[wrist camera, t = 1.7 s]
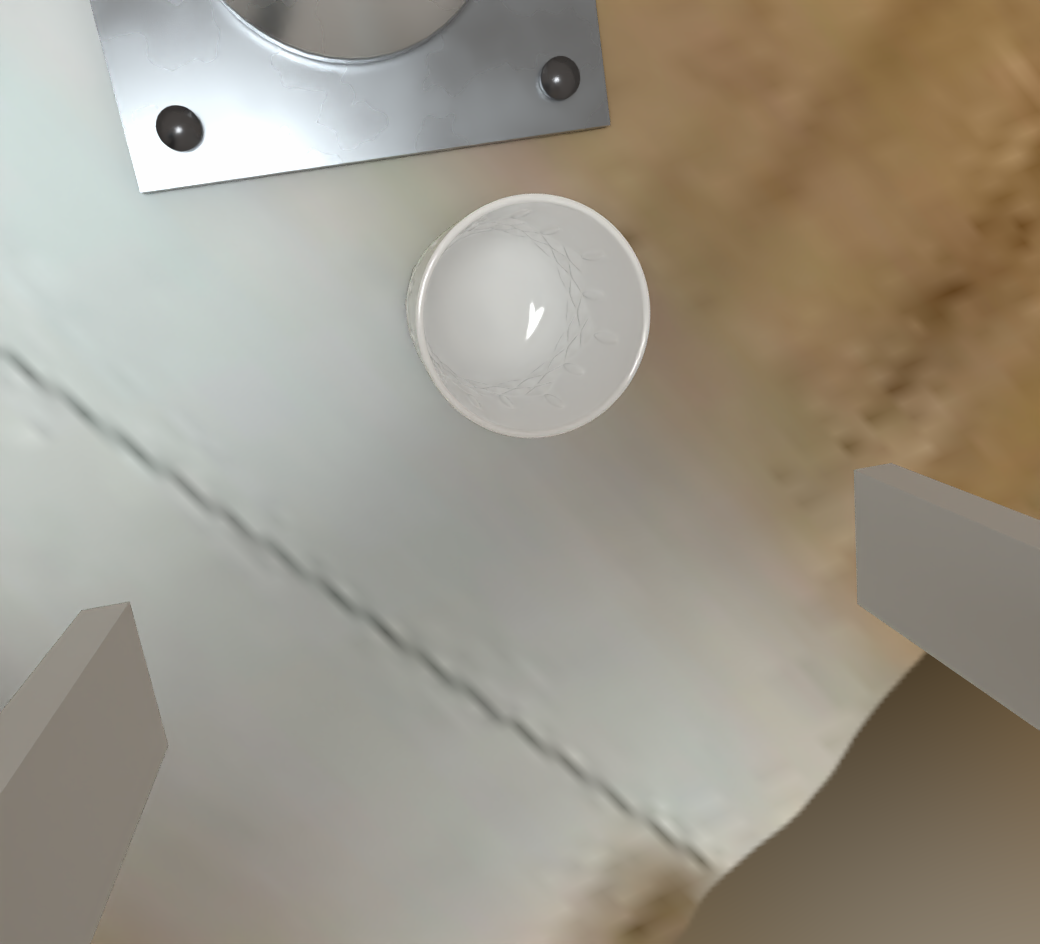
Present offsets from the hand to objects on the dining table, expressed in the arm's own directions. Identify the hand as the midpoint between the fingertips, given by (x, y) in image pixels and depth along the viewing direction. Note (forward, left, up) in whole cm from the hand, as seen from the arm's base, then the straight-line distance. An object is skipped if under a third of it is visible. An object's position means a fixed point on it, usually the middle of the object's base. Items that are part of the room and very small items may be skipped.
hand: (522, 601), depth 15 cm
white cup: (+4, +4, -24) cm, 24 cm away
